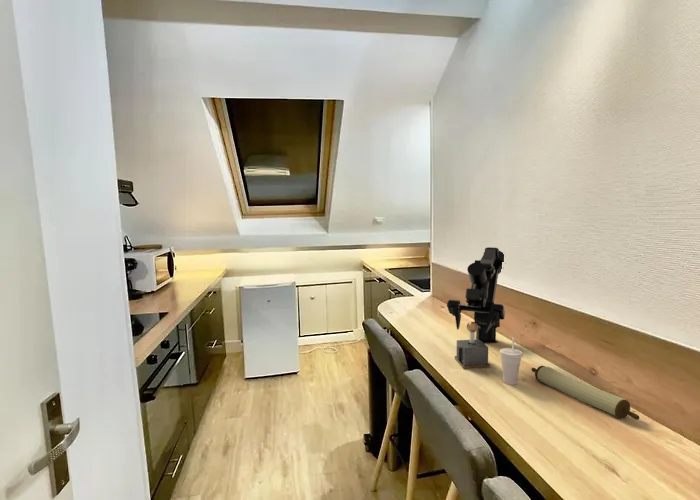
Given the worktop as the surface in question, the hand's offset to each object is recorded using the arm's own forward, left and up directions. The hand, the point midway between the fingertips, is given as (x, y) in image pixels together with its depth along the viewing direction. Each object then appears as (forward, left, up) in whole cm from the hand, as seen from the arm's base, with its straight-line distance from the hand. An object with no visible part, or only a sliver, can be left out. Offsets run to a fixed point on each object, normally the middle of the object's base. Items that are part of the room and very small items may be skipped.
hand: (471, 330), depth 136 cm
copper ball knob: (-1, -1, -7) cm, 7 cm away
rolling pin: (-21, +26, -12) cm, 36 cm away
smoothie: (-7, +15, -12) cm, 20 cm away
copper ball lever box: (-1, -1, -12) cm, 12 cm away
